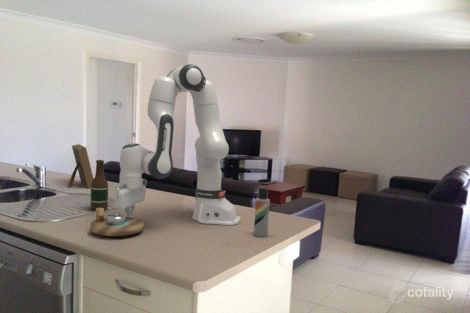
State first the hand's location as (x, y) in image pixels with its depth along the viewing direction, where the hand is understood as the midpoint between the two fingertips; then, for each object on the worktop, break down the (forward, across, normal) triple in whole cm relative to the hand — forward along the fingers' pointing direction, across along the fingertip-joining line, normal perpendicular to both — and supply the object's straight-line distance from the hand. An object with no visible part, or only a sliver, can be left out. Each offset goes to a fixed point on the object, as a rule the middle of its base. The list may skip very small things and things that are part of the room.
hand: (129, 215), depth 163 cm
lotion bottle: (+5, +11, -54) cm, 55 cm away
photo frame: (+5, +66, +71) cm, 97 cm away
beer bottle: (+5, +18, +26) cm, 32 cm away
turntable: (+3, -9, 0) cm, 9 cm away
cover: (+1, -9, +1) cm, 9 cm away
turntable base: (+4, -9, 0) cm, 10 cm away
